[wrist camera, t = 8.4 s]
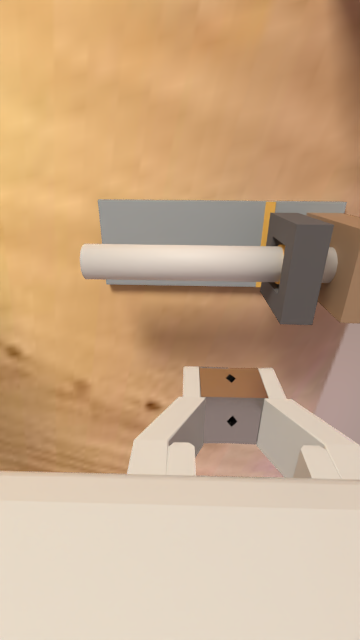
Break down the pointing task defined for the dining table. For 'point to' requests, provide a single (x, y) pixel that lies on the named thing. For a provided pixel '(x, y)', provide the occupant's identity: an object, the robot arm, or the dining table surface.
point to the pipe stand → (218, 246)
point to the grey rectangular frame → (297, 266)
